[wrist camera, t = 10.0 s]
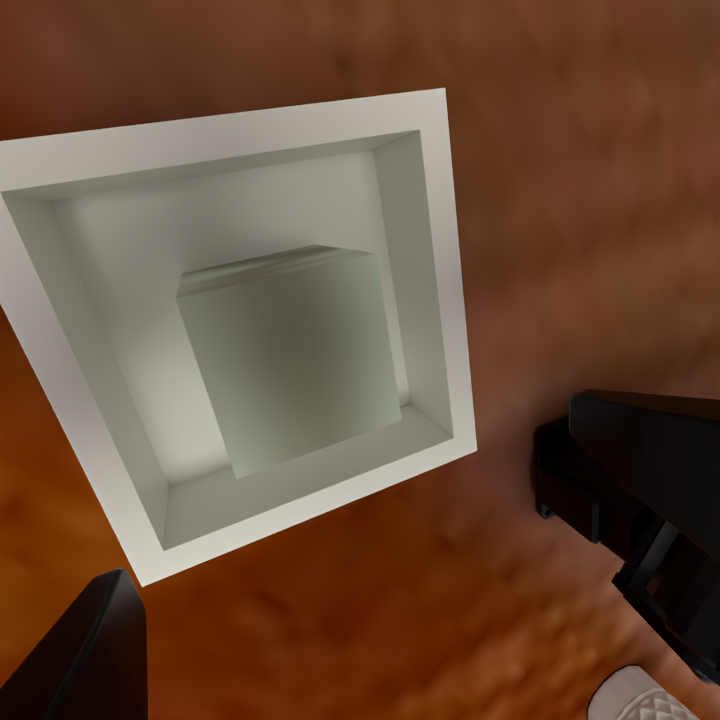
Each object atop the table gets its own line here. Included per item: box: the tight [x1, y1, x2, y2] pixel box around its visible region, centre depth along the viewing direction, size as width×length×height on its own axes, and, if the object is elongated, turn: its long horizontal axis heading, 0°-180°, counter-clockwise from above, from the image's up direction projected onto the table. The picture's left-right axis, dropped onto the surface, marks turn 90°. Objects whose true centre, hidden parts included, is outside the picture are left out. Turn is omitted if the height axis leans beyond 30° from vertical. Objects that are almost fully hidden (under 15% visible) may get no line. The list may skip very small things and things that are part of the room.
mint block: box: [176, 245, 402, 479], centre depth 14 cm, size 5×5×6 cm
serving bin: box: [0, 88, 477, 587], centre depth 15 cm, size 13×13×4 cm
